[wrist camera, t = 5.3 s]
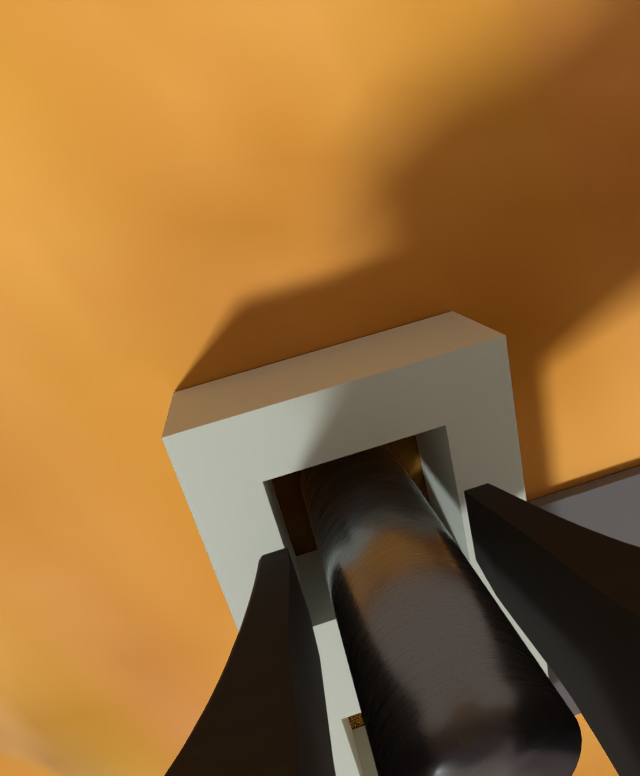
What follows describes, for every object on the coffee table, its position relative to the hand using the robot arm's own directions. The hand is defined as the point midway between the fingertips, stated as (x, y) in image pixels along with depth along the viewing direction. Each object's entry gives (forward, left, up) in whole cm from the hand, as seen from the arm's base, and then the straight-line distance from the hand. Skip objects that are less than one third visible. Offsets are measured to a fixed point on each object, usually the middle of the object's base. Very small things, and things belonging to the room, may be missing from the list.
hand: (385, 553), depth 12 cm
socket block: (-4, 0, -4) cm, 6 cm away
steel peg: (0, 0, -4) cm, 4 cm away
